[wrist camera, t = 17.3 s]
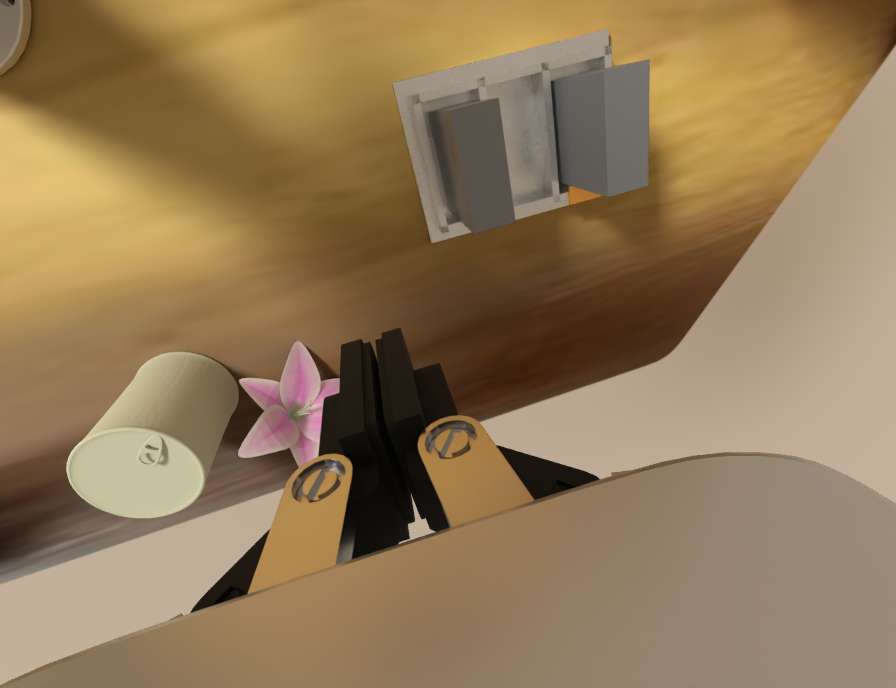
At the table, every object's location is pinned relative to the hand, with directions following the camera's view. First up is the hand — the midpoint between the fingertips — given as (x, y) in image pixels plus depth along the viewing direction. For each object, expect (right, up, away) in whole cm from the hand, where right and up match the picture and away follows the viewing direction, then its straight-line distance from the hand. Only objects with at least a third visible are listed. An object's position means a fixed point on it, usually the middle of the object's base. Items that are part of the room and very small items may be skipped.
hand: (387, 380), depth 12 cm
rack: (+7, +19, +25) cm, 32 cm away
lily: (-13, -3, +33) cm, 35 cm away
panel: (+12, +20, +25) cm, 34 cm away
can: (-24, -4, +30) cm, 39 cm away
